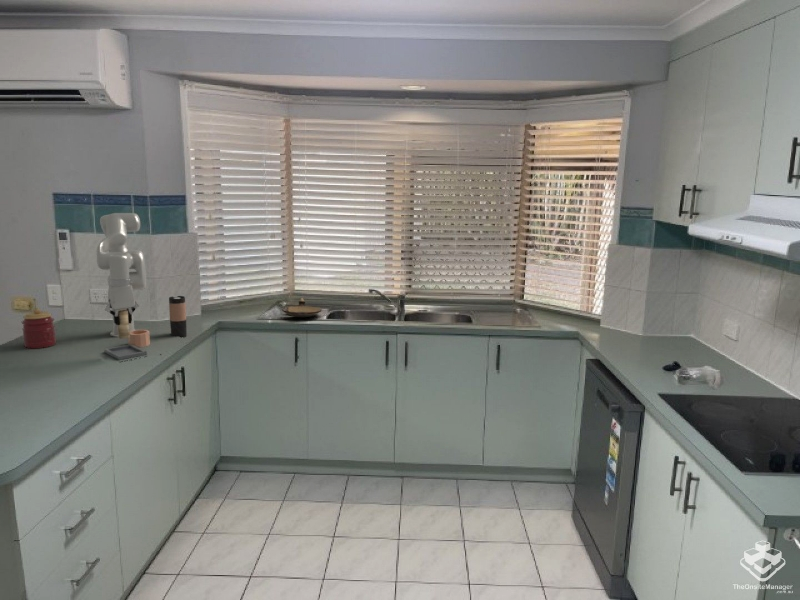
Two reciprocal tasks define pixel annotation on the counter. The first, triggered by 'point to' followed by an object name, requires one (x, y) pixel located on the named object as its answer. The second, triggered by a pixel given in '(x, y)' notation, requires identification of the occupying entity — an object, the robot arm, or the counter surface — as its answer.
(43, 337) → the canister
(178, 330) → the travel mug
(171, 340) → the counter surface
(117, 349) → the tray
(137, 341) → the cup
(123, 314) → the peg
